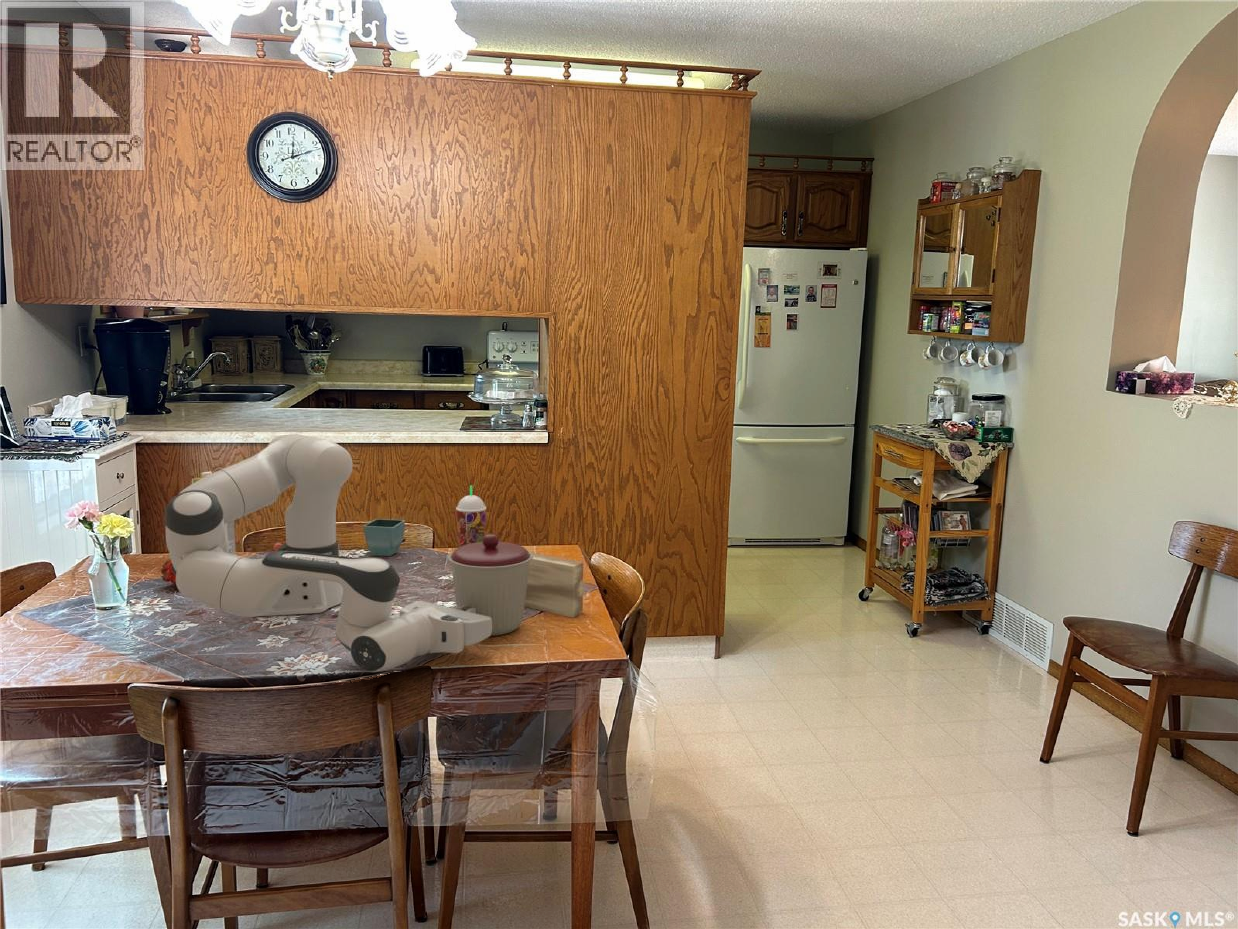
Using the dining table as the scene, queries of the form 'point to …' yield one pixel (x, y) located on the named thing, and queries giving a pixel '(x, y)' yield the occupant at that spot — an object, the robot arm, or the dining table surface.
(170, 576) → the dragon fruit
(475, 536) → the smoothie
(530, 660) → the dining table surface
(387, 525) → the flower pot
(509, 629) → the canister
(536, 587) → the beige slab
